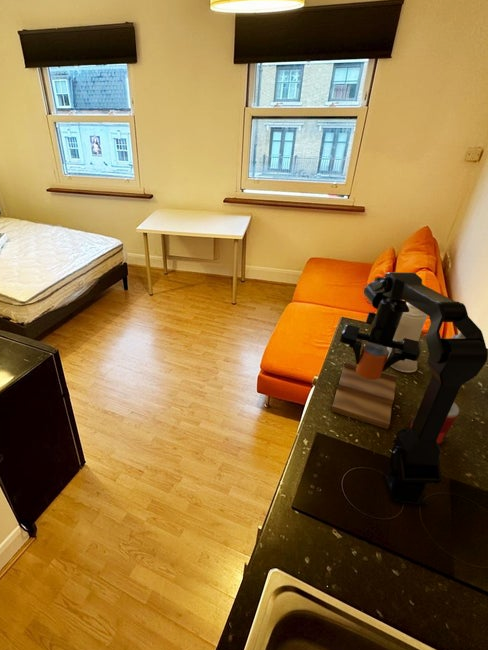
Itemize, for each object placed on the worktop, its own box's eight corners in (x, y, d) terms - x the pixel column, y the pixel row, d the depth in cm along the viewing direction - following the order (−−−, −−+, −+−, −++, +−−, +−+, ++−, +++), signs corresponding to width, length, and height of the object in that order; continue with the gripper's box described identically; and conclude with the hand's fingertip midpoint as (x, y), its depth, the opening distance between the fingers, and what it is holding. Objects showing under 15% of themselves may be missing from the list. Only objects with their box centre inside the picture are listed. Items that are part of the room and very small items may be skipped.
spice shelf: (387, 429, 102) (393, 415, 99) (330, 410, 108) (335, 396, 105) (392, 389, 115) (397, 375, 112) (341, 375, 121) (345, 361, 118)
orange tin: (383, 381, 102) (392, 357, 97) (358, 378, 103) (366, 355, 98) (377, 366, 107) (385, 343, 102) (353, 363, 108) (361, 341, 103)
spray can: (397, 377, 120) (424, 310, 106) (371, 359, 128) (393, 294, 114) (422, 368, 124) (452, 301, 110) (396, 350, 132) (420, 287, 118)
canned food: (447, 447, 97) (464, 418, 91) (414, 443, 98) (429, 413, 92) (437, 425, 103) (453, 396, 97) (406, 421, 104) (419, 392, 98)
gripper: (428, 312, 97) (408, 360, 106) (352, 297, 104) (339, 342, 113) (429, 334, 89) (407, 383, 98) (346, 315, 96) (333, 363, 105)
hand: (370, 366), depth 104 cm, fingers closed on orange tin, 6 cm apart
